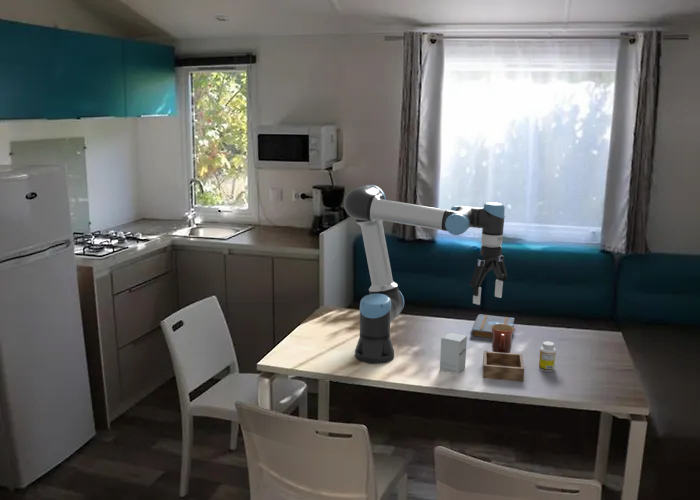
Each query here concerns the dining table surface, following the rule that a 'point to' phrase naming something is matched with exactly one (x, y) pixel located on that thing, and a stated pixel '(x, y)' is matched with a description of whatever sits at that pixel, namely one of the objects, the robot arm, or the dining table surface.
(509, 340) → the mug
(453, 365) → the supplement box
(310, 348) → the dining table surface
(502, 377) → the tray
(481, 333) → the book
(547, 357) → the supplement bottle
